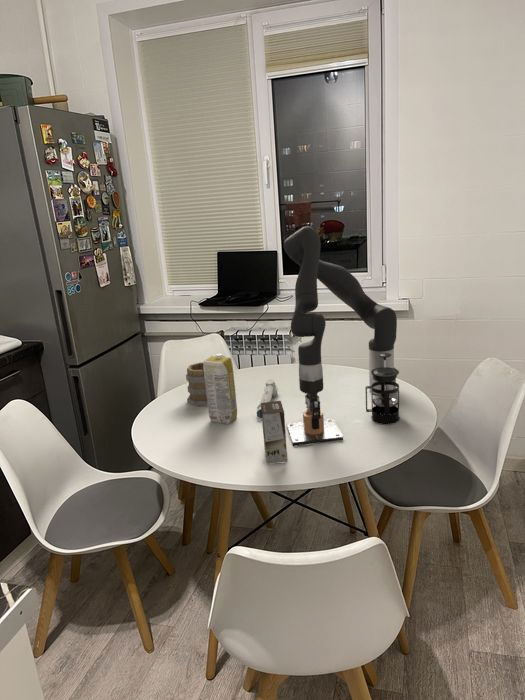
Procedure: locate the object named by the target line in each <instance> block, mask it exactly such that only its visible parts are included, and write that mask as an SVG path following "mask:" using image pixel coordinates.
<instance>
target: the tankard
mask: <svg viewBox="0 0 525 700" xmlns="http://www.w3.org/2000/svg"><path fill="white" fill-rule="evenodd" d="M223 357H225V356H224V355H223ZM203 362H204V361H202V362H196V363H193V364H190V365H189V366H188V367H187V368H186V375H185V378H186V379H185V380H186V381H187V382H188V385H187V393H189V396H188V397H187V399H186V402H187V403H188V404H190V405H192V406H194V407H208V403H207V395H206V386H205V378H204V368H203Z"/></svg>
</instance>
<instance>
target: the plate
mask: <svg viewBox="0 0 525 700" xmlns="http://www.w3.org/2000/svg"><path fill="white" fill-rule="evenodd" d="M309 416H311V415H309ZM286 430H287V433H288V435H289V438H290V441H291V444H292V446H293V447H296V446H305V445H313V444H321V443H330V442H341V441H344V435H343V434H342V432H341V430H340V428H339V427H338V425H337V423H336V421H335V420H334V418H325V419H324V431H323V432H321V433H320V434H313V435H311V434H308V433H305V431H304V425H303V421H299V422H291V423H286Z"/></svg>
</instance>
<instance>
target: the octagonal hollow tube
mask: <svg viewBox="0 0 525 700" xmlns="http://www.w3.org/2000/svg"><path fill="white" fill-rule="evenodd" d="M320 414H321V419H319V429H313V428H312V418H311V416H309V415H311V412H310V411H309V410H307V409H306V410H305V411H303V412H302V419H303V420H302V422H303V425H304V431H305V433H308V434H311V435H313V434H320V433H321V432H323V431H324V420H325V419H324V412H323V410H322V409H320ZM314 415H317V412H315V413H314Z"/></svg>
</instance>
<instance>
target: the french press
mask: <svg viewBox="0 0 525 700" xmlns="http://www.w3.org/2000/svg"><path fill="white" fill-rule="evenodd" d="M378 356H379V357H383V360H384V367H381V368H376V369H373V370H372V371H371V374H372V375H373V379H374V380H375V381H378V382H375V383H373V384H372V385H371V386H369V385H365V388H364V390H365V412H366V413H371V416H370V419H371V422H373V423H375V424H379V425H393V424H397V423H399V421H400V419H401V417H400V385H399V383H397V382H396V383H395V382H392V381H394V380H395V379H397V377H398V375H399V374H400V370H398V369H397V368H396V369H394V368H389V367H385V360H386V357H390V356H391V354H389V353H380V354H379V355H378ZM377 385H381V390H378V389H375V388H373V387H374V386H377ZM386 385H393V386H396V389H393V390H386ZM370 388H371V392H372V391H373V392H375V393H378V394H381V395H380V396H377V397H375V398H373V395H374V394H373V392H372V393H371V392H370V393H371V408H368V389H369V390H370ZM396 393H397V398H395V397H392V396H390V395H392V394H396Z"/></svg>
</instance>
